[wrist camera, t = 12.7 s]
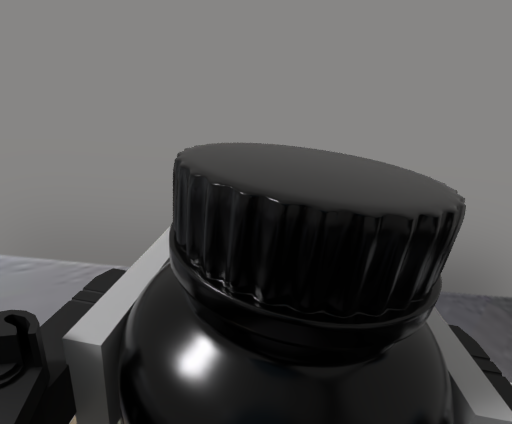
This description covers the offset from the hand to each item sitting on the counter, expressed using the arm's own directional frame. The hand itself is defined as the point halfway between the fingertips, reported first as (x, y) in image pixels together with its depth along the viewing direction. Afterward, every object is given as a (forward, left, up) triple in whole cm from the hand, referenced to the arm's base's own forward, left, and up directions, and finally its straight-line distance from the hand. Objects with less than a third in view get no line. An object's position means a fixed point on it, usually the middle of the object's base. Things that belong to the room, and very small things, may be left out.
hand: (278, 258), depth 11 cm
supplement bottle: (0, +5, -7) cm, 9 cm away
